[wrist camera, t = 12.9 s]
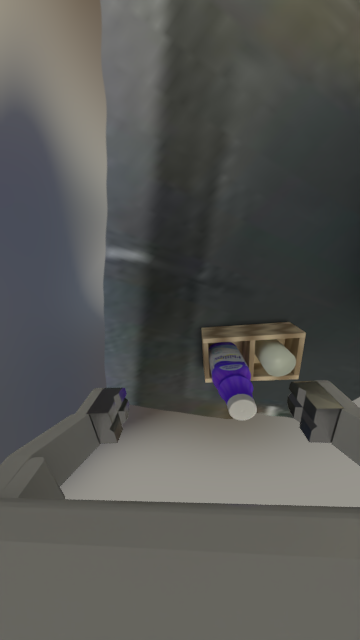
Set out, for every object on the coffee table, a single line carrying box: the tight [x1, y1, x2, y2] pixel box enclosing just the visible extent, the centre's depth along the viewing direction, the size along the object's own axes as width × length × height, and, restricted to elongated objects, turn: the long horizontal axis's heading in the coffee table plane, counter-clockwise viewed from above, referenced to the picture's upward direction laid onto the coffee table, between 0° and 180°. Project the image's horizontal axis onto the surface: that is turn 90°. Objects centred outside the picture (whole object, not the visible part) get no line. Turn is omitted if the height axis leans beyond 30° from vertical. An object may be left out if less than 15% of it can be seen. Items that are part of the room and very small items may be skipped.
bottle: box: [208, 342, 257, 420], centre depth 33 cm, size 7×6×17 cm
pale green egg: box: [255, 339, 296, 377], centre depth 37 cm, size 6×6×7 cm
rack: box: [201, 322, 306, 382], centre depth 39 cm, size 20×11×6 cm, turn 95°
